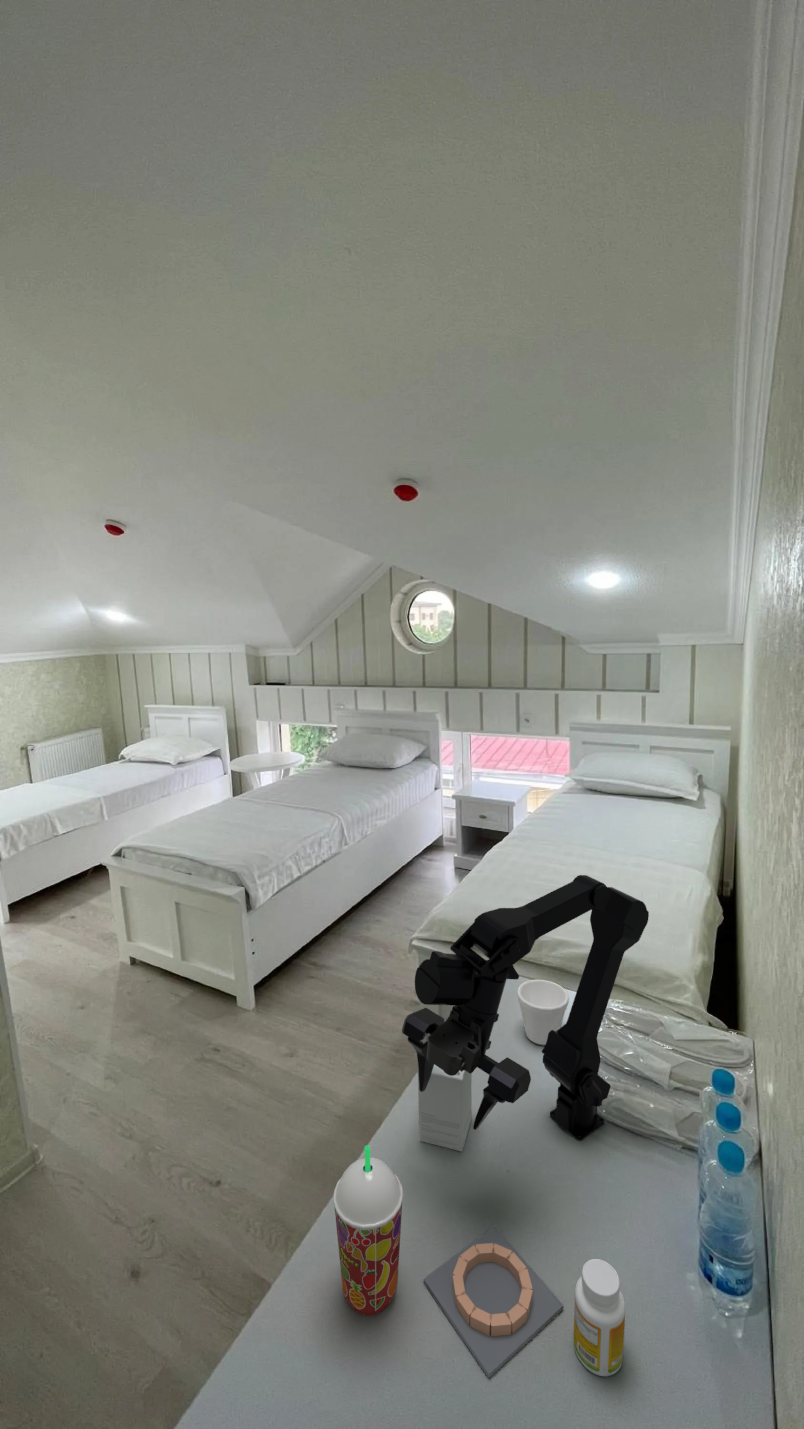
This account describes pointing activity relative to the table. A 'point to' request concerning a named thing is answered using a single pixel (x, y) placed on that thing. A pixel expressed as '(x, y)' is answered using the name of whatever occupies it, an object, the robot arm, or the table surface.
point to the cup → (541, 1008)
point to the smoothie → (368, 1233)
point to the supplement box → (445, 1109)
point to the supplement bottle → (599, 1318)
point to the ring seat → (492, 1299)
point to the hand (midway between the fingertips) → (448, 1109)
